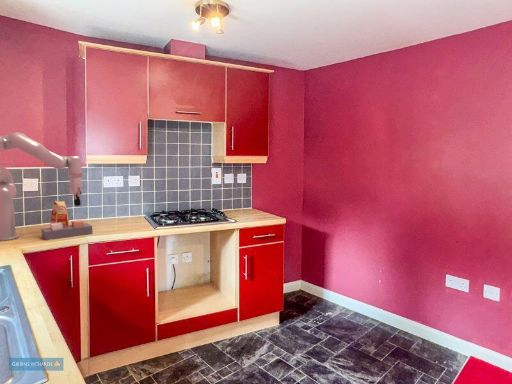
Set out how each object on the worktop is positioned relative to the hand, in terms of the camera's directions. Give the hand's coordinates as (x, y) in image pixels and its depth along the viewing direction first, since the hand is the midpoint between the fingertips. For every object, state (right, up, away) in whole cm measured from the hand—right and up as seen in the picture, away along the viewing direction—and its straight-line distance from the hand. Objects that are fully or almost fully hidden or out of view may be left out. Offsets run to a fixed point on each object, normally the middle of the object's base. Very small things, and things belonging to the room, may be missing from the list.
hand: (77, 205), depth 231 cm
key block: (-5, -18, -2) cm, 19 cm away
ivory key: (-10, -16, -6) cm, 19 cm away
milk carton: (-17, -17, +12) cm, 26 cm away
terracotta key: (-1, -15, +2) cm, 15 cm away
